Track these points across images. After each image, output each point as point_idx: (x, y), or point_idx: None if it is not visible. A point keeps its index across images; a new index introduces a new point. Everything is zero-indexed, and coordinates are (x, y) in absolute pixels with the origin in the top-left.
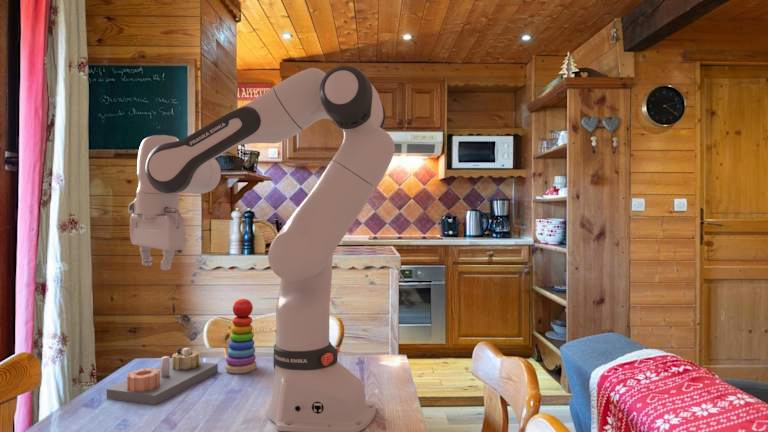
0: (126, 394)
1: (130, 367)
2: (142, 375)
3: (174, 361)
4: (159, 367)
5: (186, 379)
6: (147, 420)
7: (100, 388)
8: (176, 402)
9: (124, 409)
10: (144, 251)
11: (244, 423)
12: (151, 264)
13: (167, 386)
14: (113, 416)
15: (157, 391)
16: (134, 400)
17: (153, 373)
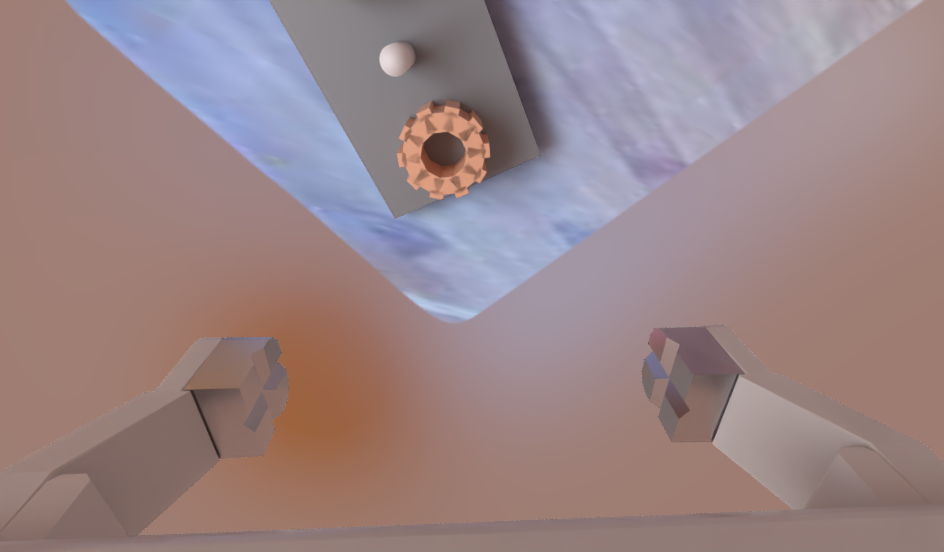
0: None
1: (145, 59)
2: (464, 167)
3: None
4: (292, 24)
5: (490, 19)
6: (606, 197)
7: (311, 196)
8: (568, 100)
9: (503, 207)
10: (118, 513)
11: (842, 45)
12: (273, 340)
13: (502, 97)
14: (523, 235)
15: (518, 137)
16: None
17: (472, 137)
